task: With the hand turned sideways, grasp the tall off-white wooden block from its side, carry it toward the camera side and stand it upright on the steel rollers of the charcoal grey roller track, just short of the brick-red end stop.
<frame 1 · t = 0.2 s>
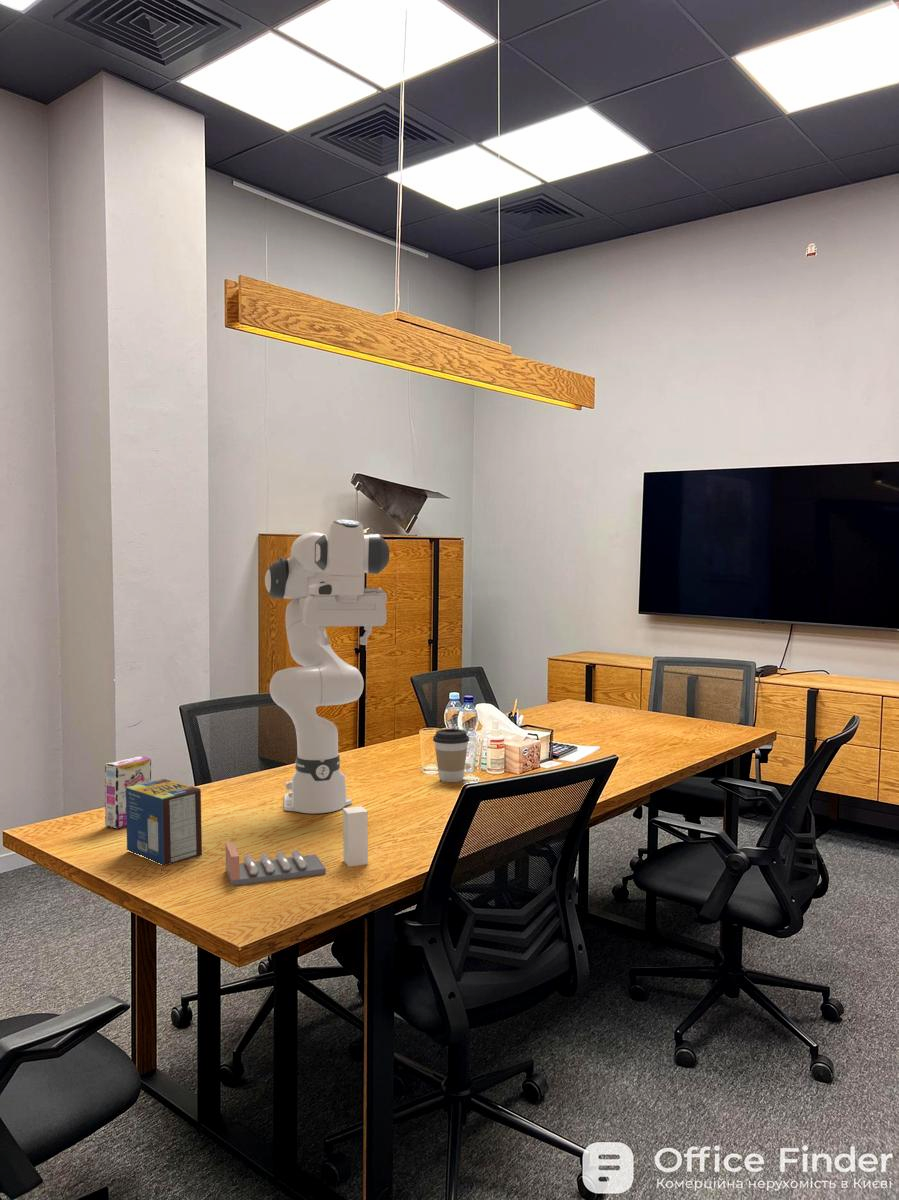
hand: (344, 644, 216), 48 cm above the table, tool pointing down, fingers open, 8 cm apart
roller track: (275, 872, 197), on the table
protein box: (164, 854, 209), on the table
coffee cup: (451, 780, 278), on the table
wooden block: (355, 862, 203), on the table
candy bar box: (129, 824, 233), on the table
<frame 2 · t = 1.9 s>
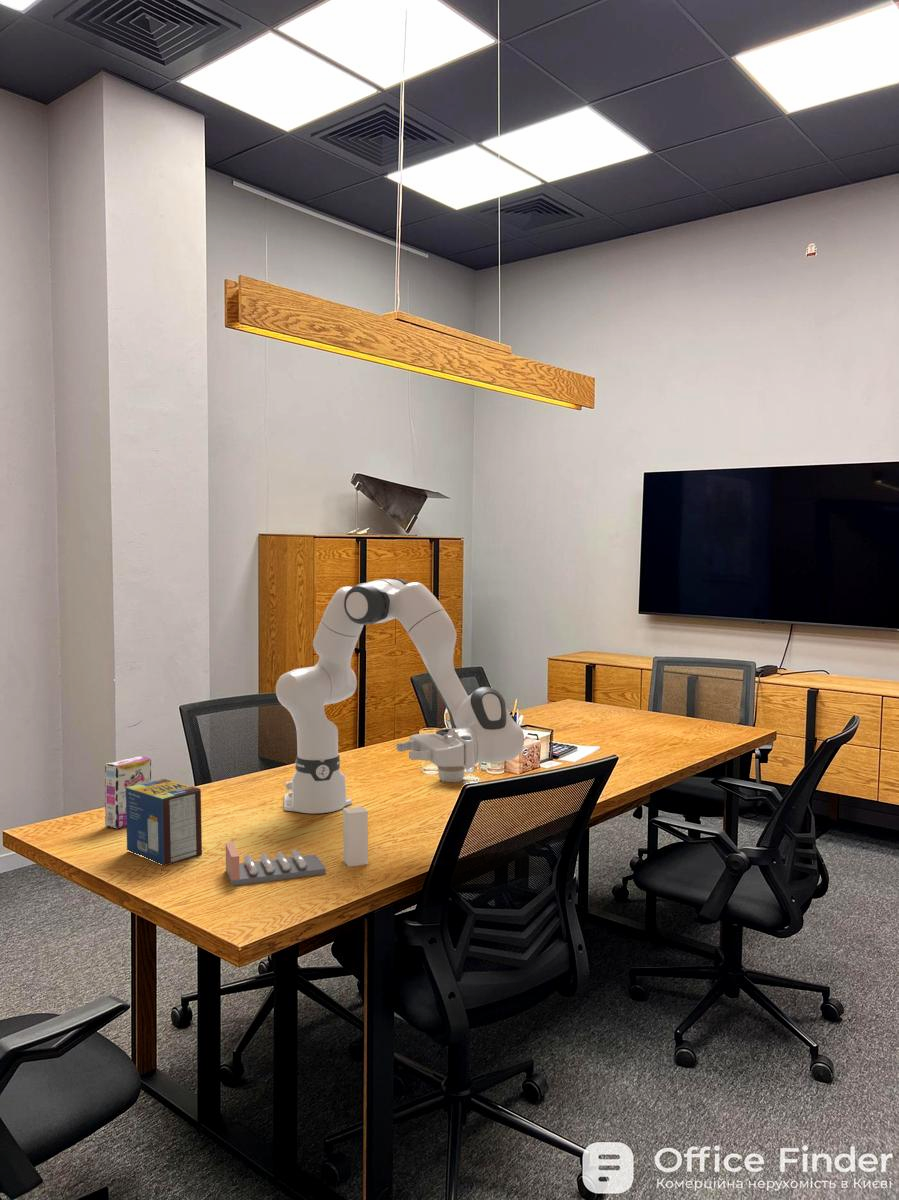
hand: (403, 751, 208), 24 cm above the table, tool horizontal, fingers open, 8 cm apart
nothing on the table moved.
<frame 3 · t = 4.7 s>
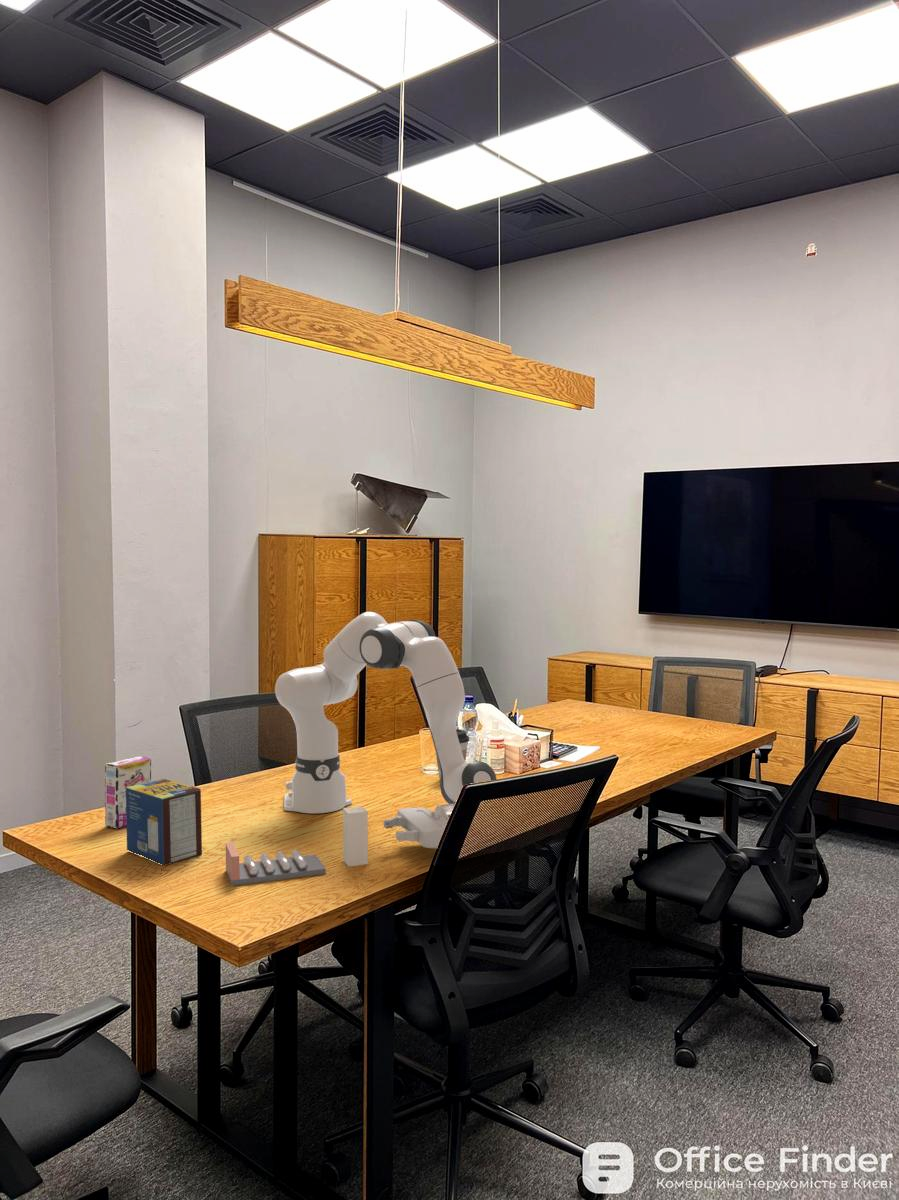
hand: (390, 830, 206), 6 cm above the table, tool horizontal, fingers open, 8 cm apart
nothing on the table moved.
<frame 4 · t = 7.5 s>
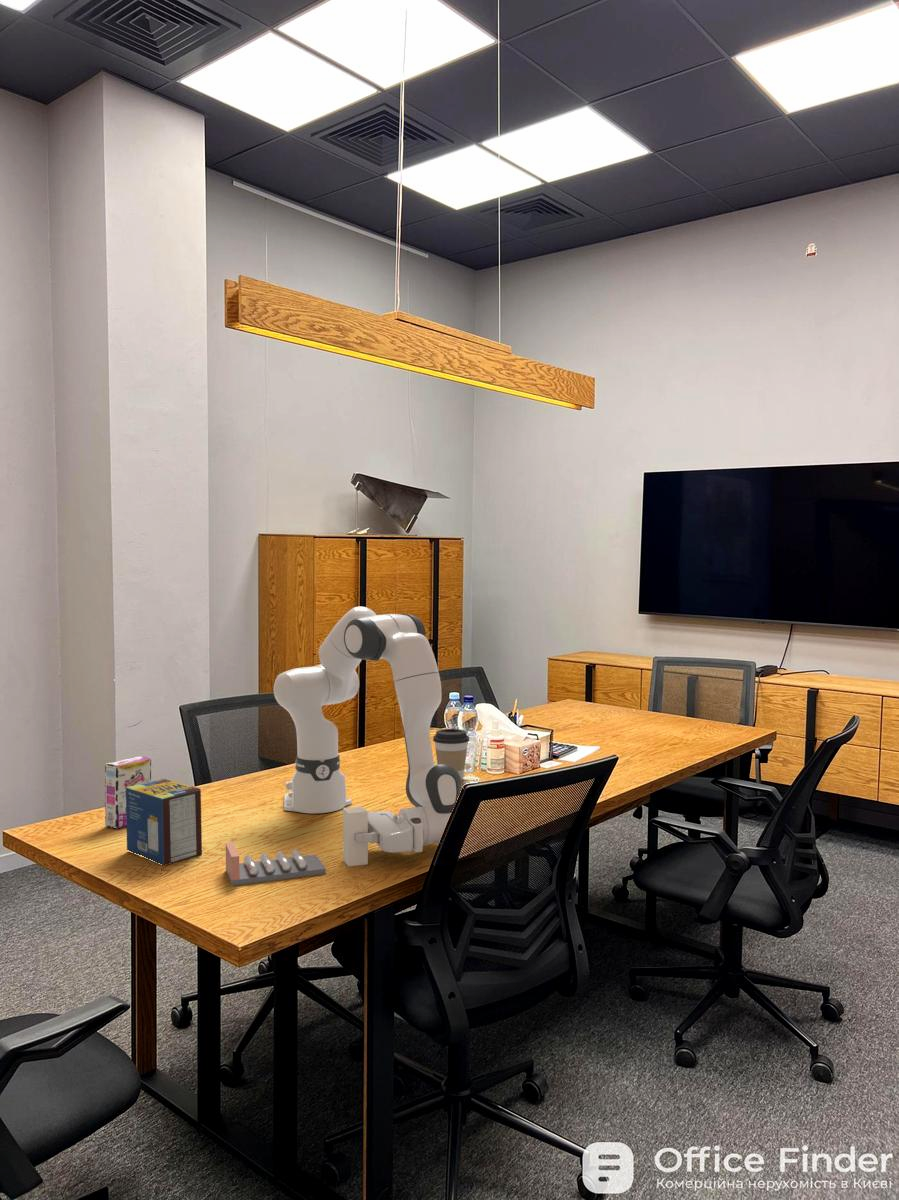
hand: (351, 834, 202), 7 cm above the table, tool horizontal, fingers closed on wooden block, 4 cm apart
wooden block: (355, 862, 203), on the table, touching gripper
everything else where it was.
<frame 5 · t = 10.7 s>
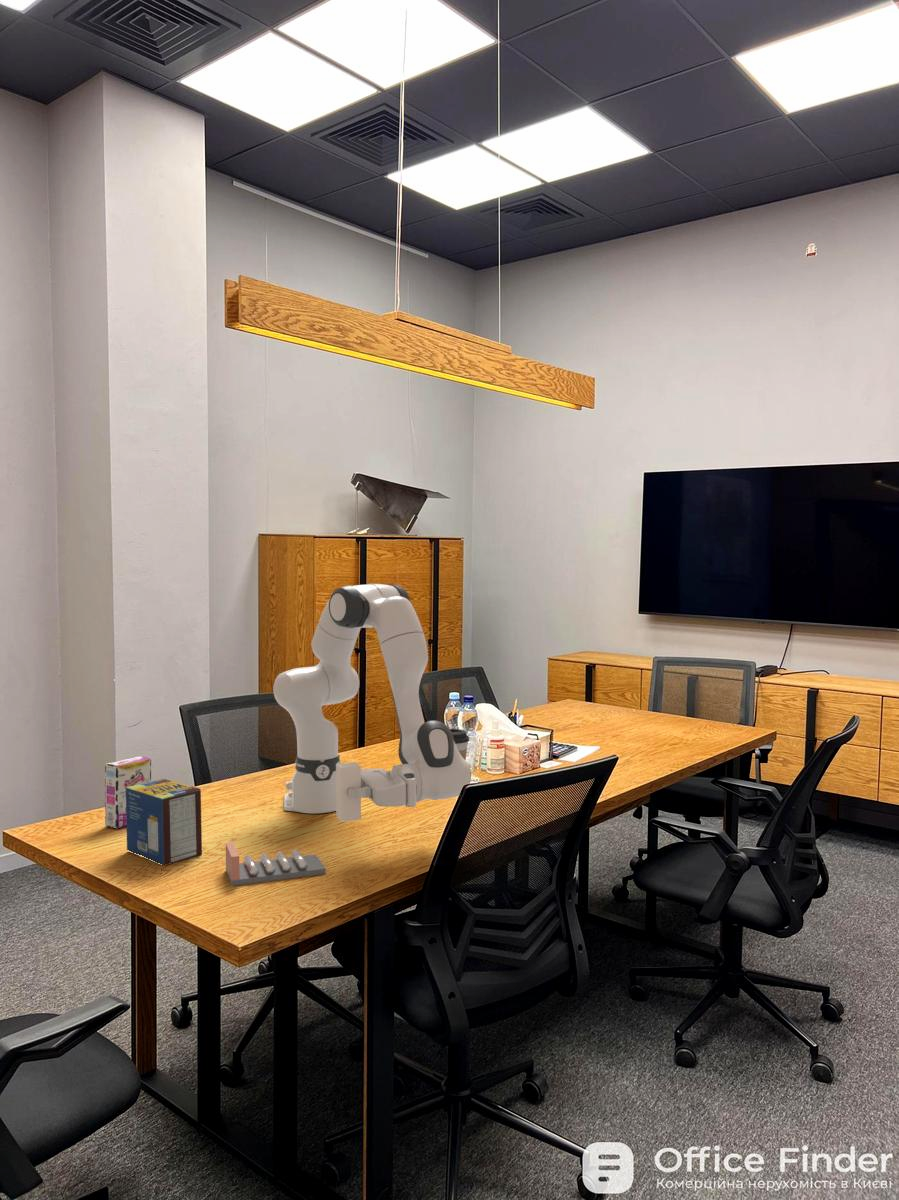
hand: (344, 789, 201), 17 cm above the table, tool horizontal, fingers closed on wooden block, 4 cm apart
wooden block: (348, 817, 202), point 10 cm above the table, touching gripper
everything else where it was.
when the fingers open (11 cm above the table, at t = 13.9 s): wooden block drops 1 cm, resting on roller track.
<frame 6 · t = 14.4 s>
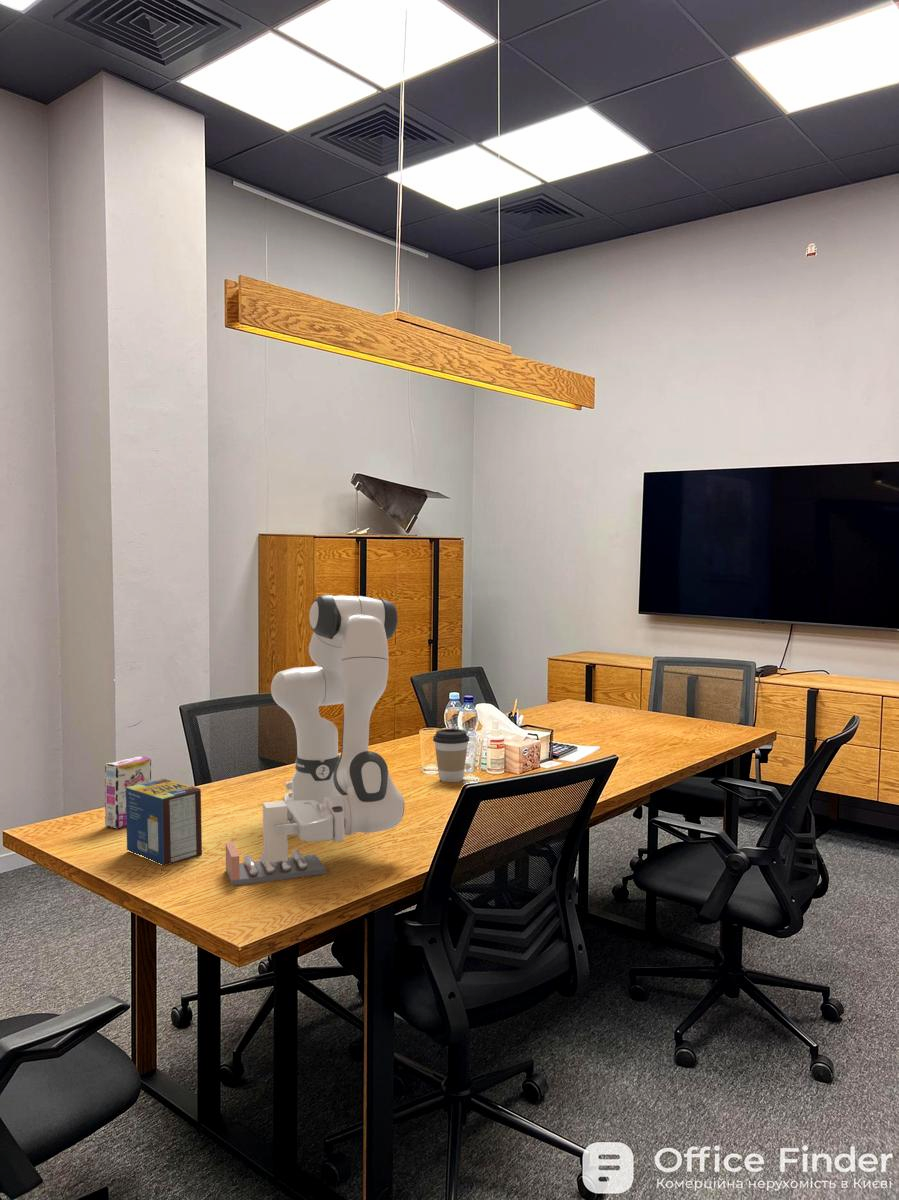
hand: (270, 823, 196), 11 cm above the table, tool horizontal, fingers open, 8 cm apart
wooden block: (275, 858, 197), point 3 cm above the table, touching roller track
everything else where it was.
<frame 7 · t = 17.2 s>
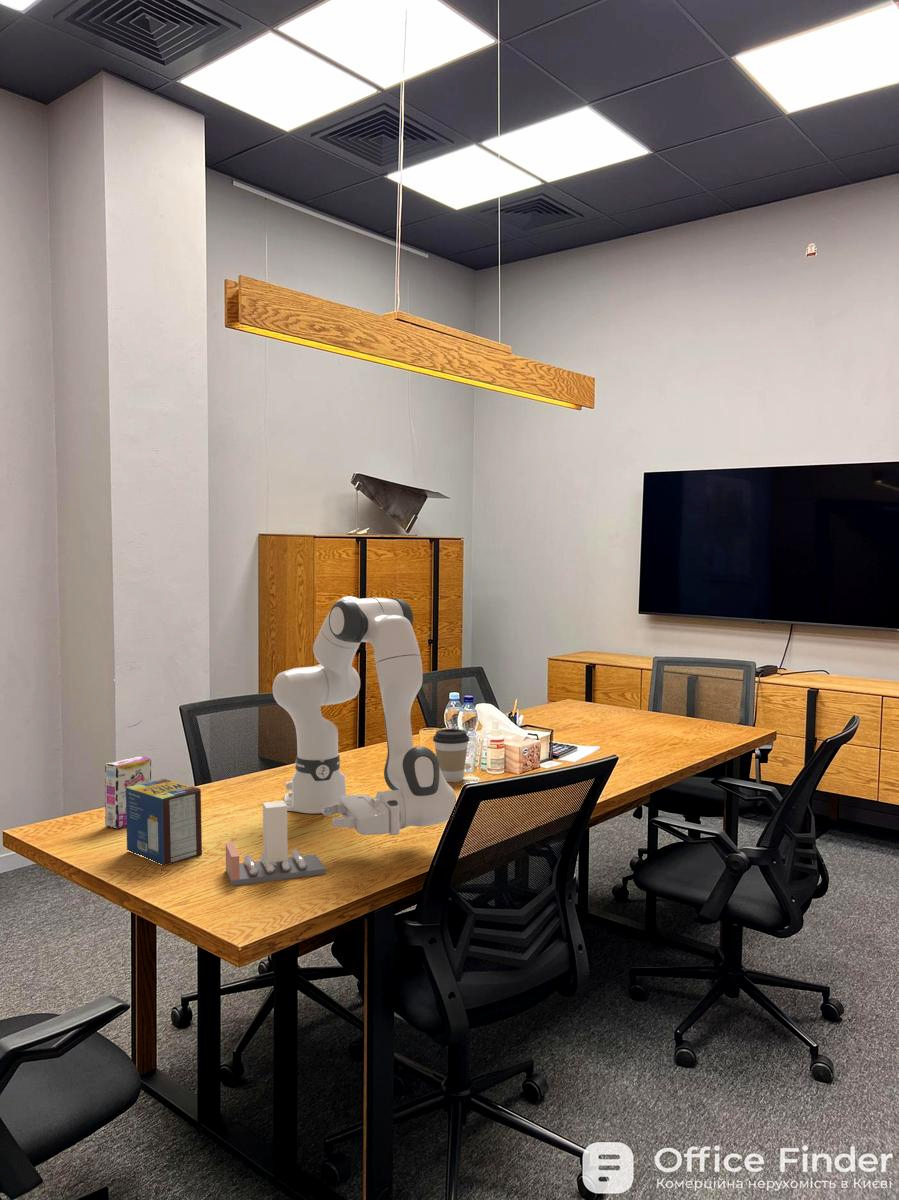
hand: (327, 816, 200), 11 cm above the table, tool horizontal, fingers open, 8 cm apart
nothing on the table moved.
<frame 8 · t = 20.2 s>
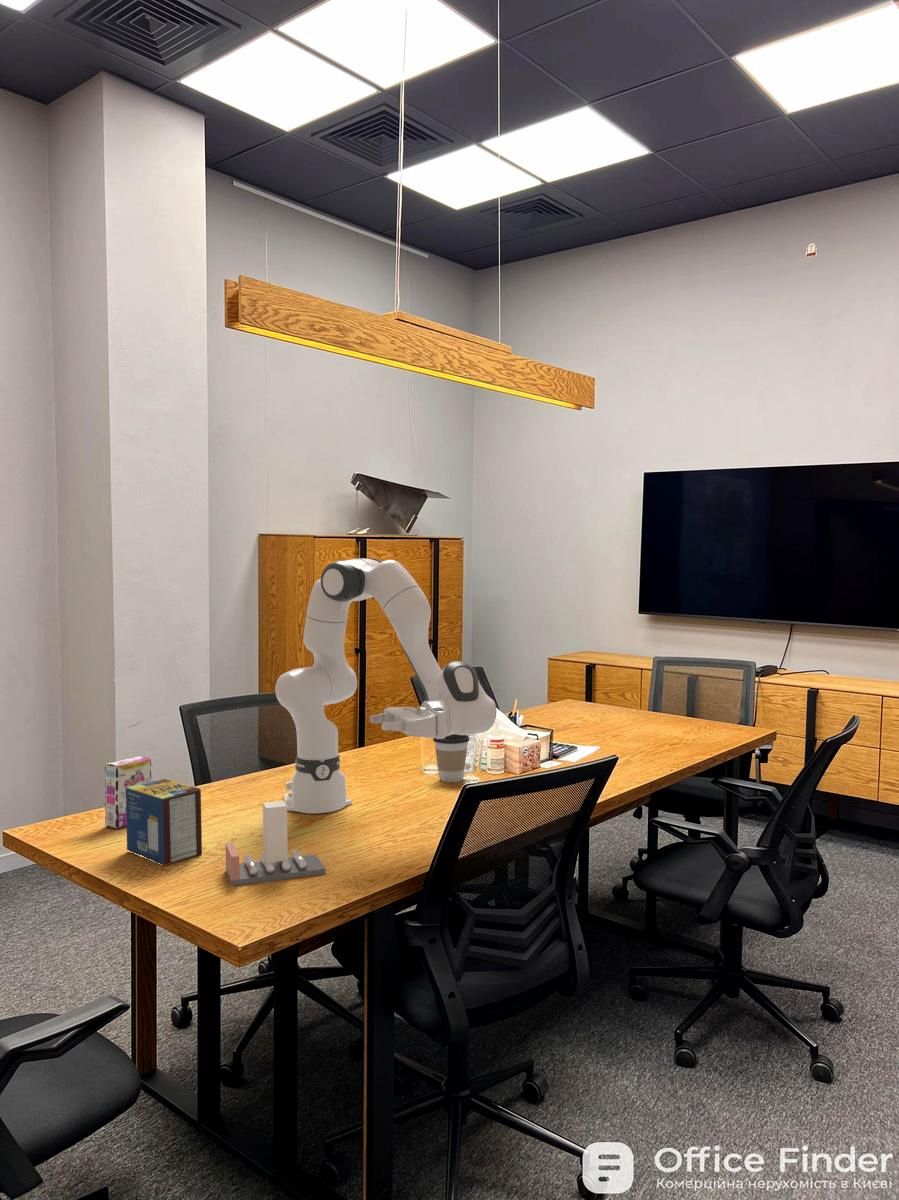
hand: (376, 723, 211), 30 cm above the table, tool horizontal, fingers open, 8 cm apart
nothing on the table moved.
at the end: wooden block inside the target area on the roller track (0.5 cm from its centre), point 3.0 cm above the roller track's base; wooden block tilted 0°; the gripper is holding nothing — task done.
